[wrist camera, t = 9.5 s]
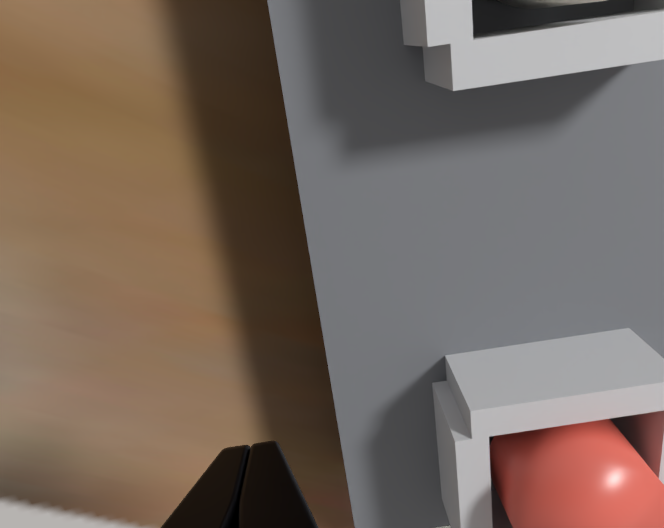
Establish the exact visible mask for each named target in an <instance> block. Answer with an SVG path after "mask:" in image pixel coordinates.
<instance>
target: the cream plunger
mask: <svg viewBox="0 0 664 528" xmlns="http://www.w3.org/2000/svg"><path fill="white" fill-rule="evenodd" d="M498 1H500V2H502V3H504V4H507V5H509V6H513V7H518V8H526V9H536V8H547V7H556V6H564V5H573V4H582V3H590V2H599V1H607V0H498Z"/></svg>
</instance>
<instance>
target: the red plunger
mask: <svg viewBox="0 0 664 528" xmlns="http://www.w3.org/2000/svg"><path fill="white" fill-rule="evenodd" d="M489 449H490V474H491V479H492V482H493V484H494V486H495V488H496V491H497V493H498V495H499V498H500V500H501V502H502V505H503V507H504V509H505V511H506V514H507V516H508V518H509V521H510V523H511V525H512V527H513V528H664V484H663V483H662V482H661V481H660V480H659V478H658V477H657V476H656V475H655V473H654V472H653V471H652V470H651V468H650V467H649V466H648V465H647V464H646V462H645V461H644V460H643V459H642V457H641V456H640V455H639V454H638V453H637V451H636V450H635V449H634V448H633V446H632V445H631V444H630V443H629V441H628V440H627V439H626V438H625V437H624V435H623V434H622V433H621V432H620V430H619V429H618V428H617V427H616V426H615V424H614V423H613V422H612V421H611V419H604V420H597V421H590V422H584V423H577V424H570V425H564V426H557V427H550V428H544V429H537V430H530V431H524V432H517V433H510V434H504V435H497V436H494V438H493V440H492V442H491V444H490V447H489Z"/></svg>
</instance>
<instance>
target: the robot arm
mask: <svg viewBox="0 0 664 528" xmlns="http://www.w3.org/2000/svg"><path fill="white" fill-rule="evenodd" d="M161 528H318V526H317V524H316V522H315V520H314V517H313V515H312V513H311V511H310V509H309V507H308V505H307V503H306V501H305V498H304V496H303V494H302V492H301V490H300V488H299V486H298V484H297V482H296V479H295V477H294V475H293V473H292V471H291V469H290V467H289V465H288V463H287V460H286V458H285V456H284V454H283V452H282V450H281V448H280V446H279V444H278V442H276V441H268V442H261V443H255V444H253V445H252V446H251V447H250V446H248V445H241V446H235V447H228V448H225V449H223V450H222V451H221V452H220V453H219V455H218V456H217V457H216V458H215V460H214V461H213V462H212V463H211V465H210V466H209V467H208V469H207V470H206V471H205V472H204V474H203V475H202V476H201V477H200V479H199V480H198V481H197V482H196V484H195V485H194V486H193V487H192V489H191V490H190V491H189V493H188V494H187V495H186V496H185V498H184V499H183V500H182V501H181V503H180V504H179V505H178V506H177V508H176V509H175V510H174V512H173V513H172V514H171V515H170V517H169V518H168V519H167V520H166V522H165V523H164V524H163V525H162V527H161Z"/></svg>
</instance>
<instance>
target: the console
mask: <svg viewBox="0 0 664 528" xmlns="http://www.w3.org/2000/svg"><path fill="white" fill-rule="evenodd" d="M267 2H268V8H269V14H270V20H271V26H272V32H273V38H274V44H275V50H276V56H277V62H278V68H279V74H280V80H281V86H282V92H283V98H284V104H285V110H286V116H287V122H288V128H289V134H290V140H291V146H292V152H293V158H294V164H295V170H296V176H297V183H298V189H299V195H300V201H301V207H302V213H303V219H304V225H305V231H306V237H307V243H308V249H309V255H310V261H311V267H312V273H313V279H314V285H315V291H316V297H317V303H318V309H319V315H320V321H321V327H322V333H323V339H324V345H325V351H326V357H327V363H328V369H329V375H330V381H331V387H332V393H333V399H334V405H335V411H336V417H337V423H338V429H339V435H340V441H341V447H342V453H343V459H344V466H345V472H346V478H347V484H348V490H349V496H350V502H351V508H352V514H353V520H354V526H355V528H435V527H441V526H448V525H450V526H451V528H513V527H512V525H511V523H510V521H509V518H508V516H507V514H506V511H505V509H504V507H503V505H502V502H501V500H500V498H499V495H498V493H497V491H496V488H495V486H494V484H493V482H492V479H491V474H490V449H489V447H490V444H491V442H492V440H493V438H494V436H497V435H504V434H510V433H517V432H524V431H530V430H537V429H544V428H550V427H557V426H564V425H570V424H577V423H584V422H590V421H597V420H604V419H611V421H612V422H613V423H614V424H615V426H616V427H617V428H618V429H619V430H620V432H621V433H622V434H623V435H624V437H625V438H626V439H627V440H628V441H629V443H630V444H631V445H632V446H633V448H634V449H635V450H636V451H637V453H638V454H639V455H640V456H641V457H642V459H643V460H644V461H645V462H646V464H647V465H648V466H649V467H650V468H651V470H652V471H653V472H654V473H655V475H656V476H657V477H658V478H659V480H660V481H661V482H662V483H663V484H664V0H607V1H599V2H590V3H582V4H573V5H564V6H556V7H547V8H536V9H526V8H518V7H513V6H509V5H507V4H504V3H502V2H500V1H498V0H267Z"/></svg>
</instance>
